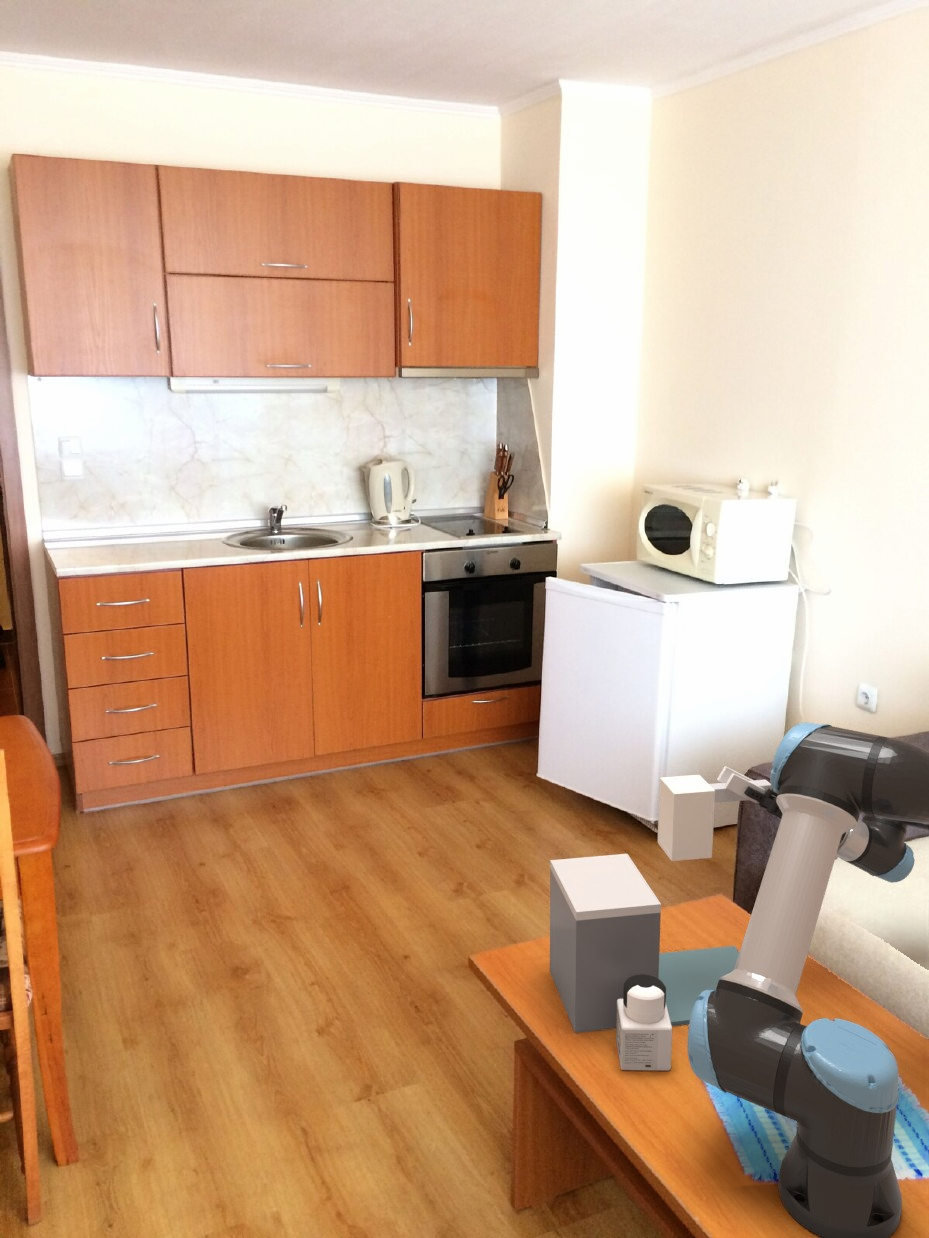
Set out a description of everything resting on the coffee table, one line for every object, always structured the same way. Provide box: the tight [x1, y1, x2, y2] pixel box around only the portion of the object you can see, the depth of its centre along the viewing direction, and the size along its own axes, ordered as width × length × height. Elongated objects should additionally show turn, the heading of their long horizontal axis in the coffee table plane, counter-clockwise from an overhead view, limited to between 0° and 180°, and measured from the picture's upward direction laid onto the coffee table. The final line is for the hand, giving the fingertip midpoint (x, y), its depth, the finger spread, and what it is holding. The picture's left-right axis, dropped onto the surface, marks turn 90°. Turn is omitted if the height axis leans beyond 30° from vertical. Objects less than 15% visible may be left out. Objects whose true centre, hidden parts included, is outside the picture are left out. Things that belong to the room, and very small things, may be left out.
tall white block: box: [657, 774, 772, 862], centre depth 176 cm, size 18×7×12 cm, turn 99°
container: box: [615, 974, 673, 1072], centre depth 163 cm, size 8×8×13 cm
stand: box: [549, 853, 662, 1034], centre depth 177 cm, size 14×18×22 cm
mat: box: [659, 945, 740, 1027], centre depth 183 cm, size 20×20×1 cm
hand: (725, 776), depth 174 cm, fingers closed on tall white block, 2 cm apart
